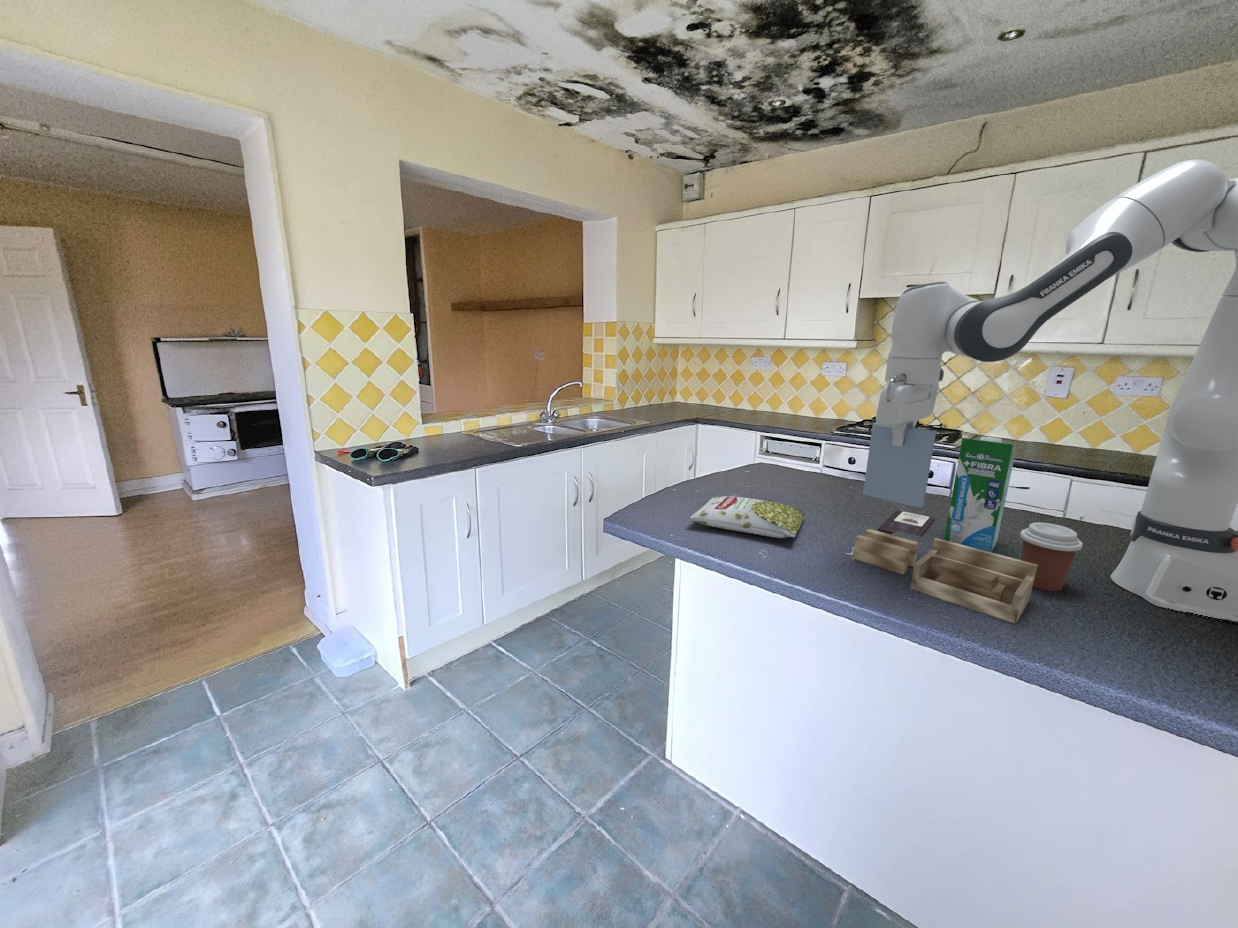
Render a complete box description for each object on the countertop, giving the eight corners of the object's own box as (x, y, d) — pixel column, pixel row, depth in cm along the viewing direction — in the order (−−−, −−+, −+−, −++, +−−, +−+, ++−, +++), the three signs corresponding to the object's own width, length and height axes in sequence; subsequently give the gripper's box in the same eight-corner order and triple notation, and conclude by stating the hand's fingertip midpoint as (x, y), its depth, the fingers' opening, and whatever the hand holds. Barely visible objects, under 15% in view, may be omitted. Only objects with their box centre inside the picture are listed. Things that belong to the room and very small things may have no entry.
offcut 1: (997, 583, 90) (999, 574, 89) (990, 590, 87) (992, 581, 87) (946, 567, 95) (948, 558, 95) (938, 574, 93) (940, 565, 93)
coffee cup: (1006, 572, 104) (1018, 517, 101) (1064, 583, 99) (1078, 525, 96) (1013, 591, 96) (1026, 532, 93) (1075, 604, 92) (1091, 542, 89)
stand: (914, 568, 105) (919, 542, 104) (902, 578, 101) (906, 551, 99) (865, 553, 113) (868, 528, 111) (851, 562, 108) (855, 537, 106)
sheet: (923, 506, 100) (936, 430, 96) (920, 507, 99) (933, 432, 95) (865, 492, 107) (875, 422, 104) (863, 494, 106) (872, 423, 103)
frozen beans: (796, 524, 113) (688, 507, 124) (793, 549, 114) (687, 529, 125) (807, 500, 131) (713, 487, 142) (805, 522, 132) (712, 507, 143)
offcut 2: (1003, 594, 89) (1005, 585, 89) (999, 602, 87) (1001, 593, 86) (945, 577, 96) (946, 568, 95) (939, 584, 93) (940, 575, 92)
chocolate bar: (877, 528, 125) (897, 510, 138) (877, 532, 125) (897, 513, 138) (918, 538, 119) (935, 518, 132) (918, 542, 119) (934, 521, 132)
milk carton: (996, 542, 119) (1018, 437, 112) (990, 554, 112) (1013, 443, 106) (951, 532, 124) (970, 431, 118) (943, 542, 118) (962, 437, 112)
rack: (1028, 605, 91) (1037, 564, 89) (1014, 628, 84) (1024, 585, 82) (929, 574, 103) (935, 537, 101) (909, 593, 95) (916, 553, 93)
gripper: (910, 377, 87) (898, 455, 91) (947, 371, 101) (935, 439, 104) (872, 375, 92) (862, 449, 95) (912, 369, 105) (902, 435, 109)
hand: (901, 444), depth 100 cm, fingers closed on sheet, 1 cm apart
